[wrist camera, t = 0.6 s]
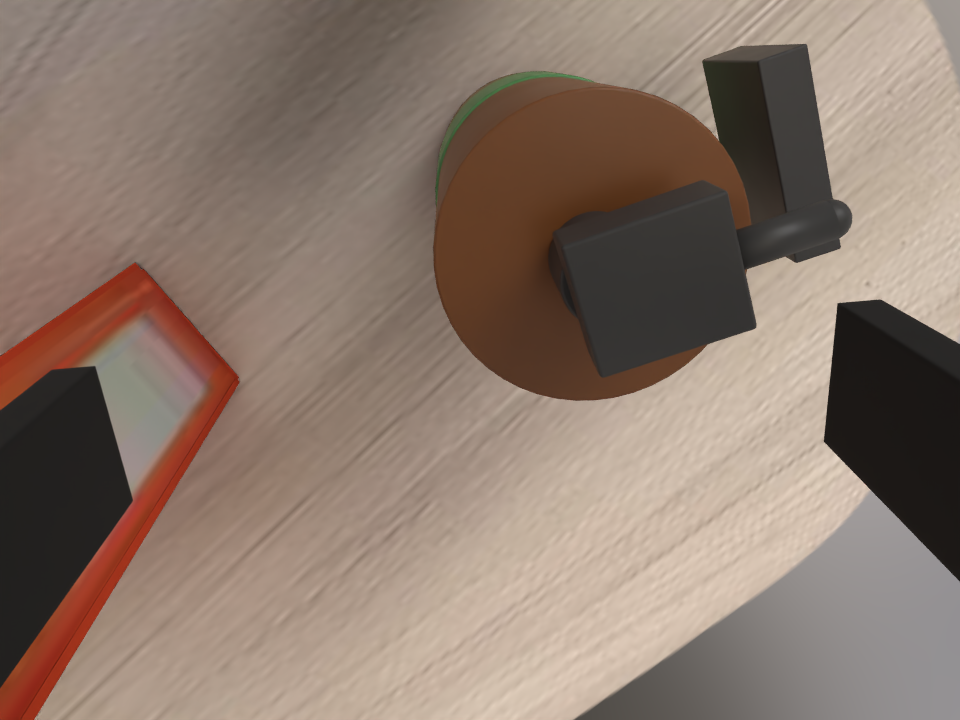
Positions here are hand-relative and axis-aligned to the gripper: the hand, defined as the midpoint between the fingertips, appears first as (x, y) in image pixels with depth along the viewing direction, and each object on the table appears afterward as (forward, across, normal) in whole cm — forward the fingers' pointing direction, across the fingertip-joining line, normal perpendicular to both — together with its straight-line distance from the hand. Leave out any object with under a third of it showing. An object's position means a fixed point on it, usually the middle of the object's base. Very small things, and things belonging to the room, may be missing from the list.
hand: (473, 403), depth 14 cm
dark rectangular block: (+15, +10, +2) cm, 18 cm away
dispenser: (+25, +3, +1) cm, 25 cm away
